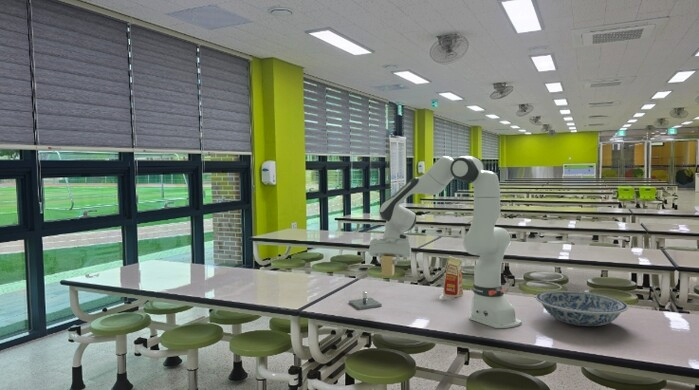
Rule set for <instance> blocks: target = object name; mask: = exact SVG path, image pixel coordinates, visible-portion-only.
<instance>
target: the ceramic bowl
mask: <svg viewBox="0 0 699 390" xmlns="http://www.w3.org/2000/svg"><path fill="white" fill-rule="evenodd" d="M535 299H536V301H537V302H538V303H540V304H541V305H542V306H543V308H544V309H545V312H547V313H548V314H549V315H550V316H552V318H555V320H558V321H560V322H563V323H565V324H571V325H574V326H580V327H582V326H583V327H598V326H603V325H607V324H610V323H612V322H613V321H615V320H616V319H617V318H618V317H619V316H620V315H621V313H624V312H626V311H627V310H628V309H629V305H628V304H627V303H626V302H624V301H622V300H620V299H617V298H616V297H615V298H614V297H612V296H607V295H604V294H599V293H594V292H593V293H592V292H586V291H578V290H549V291H543V292H540V293H537V294H536V295H535Z"/></svg>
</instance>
